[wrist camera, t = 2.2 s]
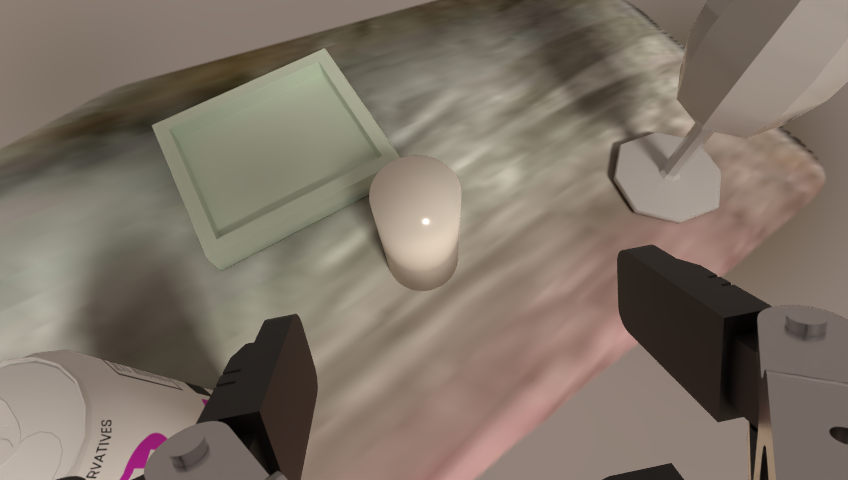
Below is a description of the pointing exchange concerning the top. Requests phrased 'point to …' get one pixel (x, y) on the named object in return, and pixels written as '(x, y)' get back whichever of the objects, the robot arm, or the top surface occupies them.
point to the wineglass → (735, 95)
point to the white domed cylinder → (418, 220)
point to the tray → (272, 157)
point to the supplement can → (87, 416)
